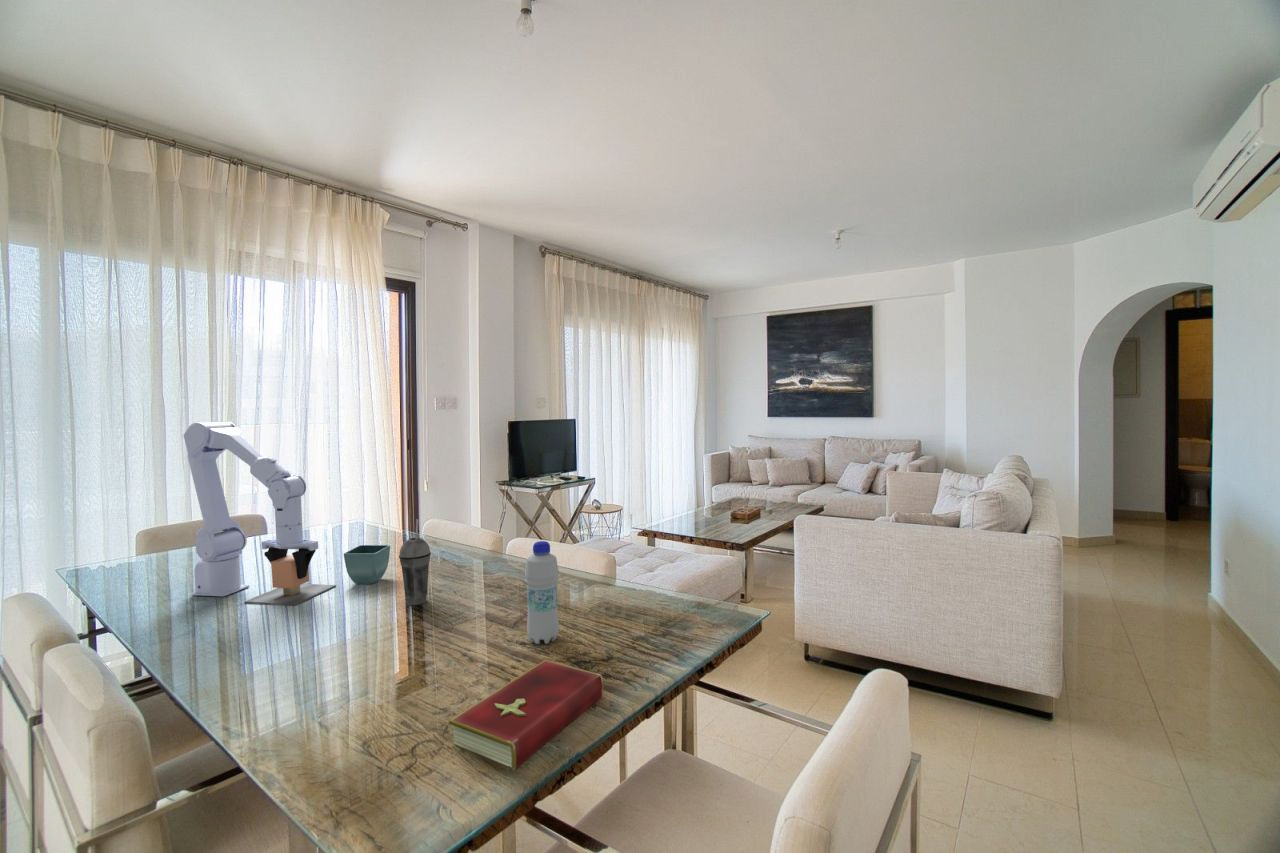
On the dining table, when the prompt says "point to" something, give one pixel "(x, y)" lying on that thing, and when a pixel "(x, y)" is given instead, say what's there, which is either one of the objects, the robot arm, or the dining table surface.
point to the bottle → (542, 594)
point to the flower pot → (367, 563)
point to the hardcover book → (527, 712)
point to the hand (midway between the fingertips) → (291, 577)
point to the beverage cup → (415, 568)
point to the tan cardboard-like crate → (286, 573)
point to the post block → (290, 595)
